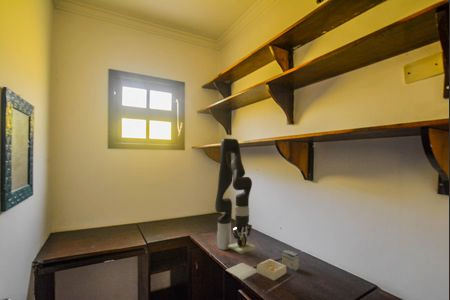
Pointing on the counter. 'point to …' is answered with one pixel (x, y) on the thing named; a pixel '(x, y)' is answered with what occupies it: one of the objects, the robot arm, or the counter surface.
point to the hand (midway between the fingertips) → (241, 244)
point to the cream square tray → (273, 275)
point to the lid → (244, 247)
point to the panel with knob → (242, 270)
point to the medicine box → (290, 260)
